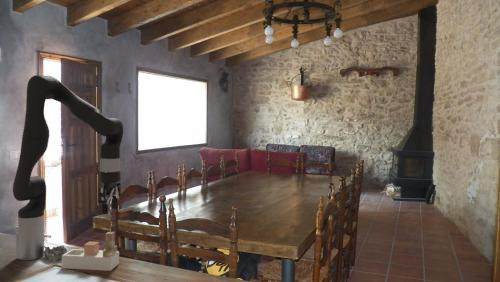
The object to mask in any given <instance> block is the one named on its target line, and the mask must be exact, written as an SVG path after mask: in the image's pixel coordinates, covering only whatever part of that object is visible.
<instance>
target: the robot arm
mask: <svg viewBox="0 0 500 282" xmlns="http://www.w3.org/2000/svg"><path fill="white" fill-rule="evenodd" d="M25 98H26V101H25V105H26V106H25V117H24V126H23V132H22V138H21V144H20V145H21V146H20V154H19V160H18V164H17V168H16V173H15V176H14V179H13V185H12V194H13V195H12V196H13V198H14V199H15V200H16V201H18V202H23V201H24V202H26V201H28V202H27V204H25V205H24V206H23V207H20V209H18V211H17V212H18V213H17V221H18V222H17V225H18V226H17V229H18V230H17V231H18V233H17V234H16V236H15V258H16V259H18V260H19V261H20V260H21V261H31V260H32V261H33V260H38V259H41V258H43V257H45V256H44V251H45V247H44V246H45V214H44V213H45V209H46V203H47V202H46V200H47V199H46V198H47V184H46V181H45V179H44V178H43V177H42V176H38V175H37V176H36V175H35V176H32V172H33V170H34V167H35V166H36V165H37V164H38V162H39V161H40V159H41V158H42V157H43V156H44V155H45V152H46V151H47V149H48V145H49V139H50V128H49V125H48V123H47V119H46V118H45V104H46V101H47V100H54V101H56V102H58V103H61V104H63V105H64V106H65V107H67V109H68V110H69V111H70V112H71V114H72V115H73V116H74V117H76V118H77V119H78V120H80V121H82V122H84V123H85V124H87V125H89V126H90V128H92V129H93V131H94V132H96V133H97V134H99V135H101V136H103V137H105V141H104V142H103V143H101V145H100V162H99V182H100V183H101V184H103V186H102V187H99V188H98V199H97V200H98V204H99V205H101V214H102V215H108V214H109V201H110V200H111V209H113V210H118V208H119V198H121V196H122V186H121V185H122V184H121V149H120V148H121V144H122V141H123V140H122V139H123V136H124V125H123V122H122V121H121V120H120V119H119V118H116V117H115V118H114V117H106V116H105V115H103V113H102V111H101V110H100V109H98V108H97V107H96V106H94V105H92V104H91V103H89V102H88V101H86V100H84V99H82V98H81V97H79V96H78V95H77V94H75V93H74V92H73V91H71V89H69V88H68V87H67V86H66V85H65V84H64V83H62V82H61V81H60V80H59V79H58V78H56V77H55V76H50V75H41V74H40V75H39V74H38V75H37V74H36V75H32V76H31V77H30V78H29V79H28V82H27V85H26V97H25Z"/></svg>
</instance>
